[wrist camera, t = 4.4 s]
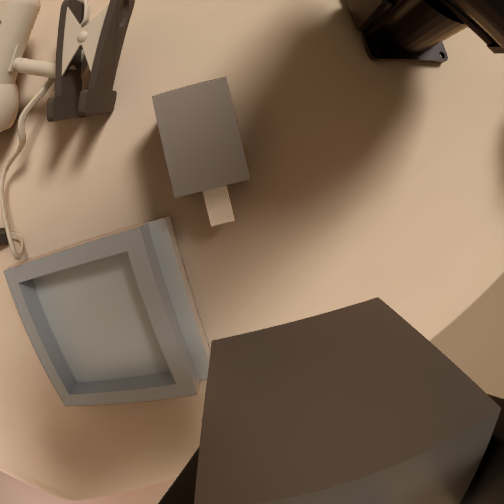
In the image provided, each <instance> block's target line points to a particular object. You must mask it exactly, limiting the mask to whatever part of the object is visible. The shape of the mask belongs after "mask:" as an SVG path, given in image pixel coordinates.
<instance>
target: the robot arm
mask: <svg viewBox="0 0 504 504" xmlns="http://www.w3.org/2000/svg"><path fill="white" fill-rule="evenodd" d="M345 1H346V4H347V6H348V8H349V11H350V13H351V16H352V18H353V21H354V23H355V26H356V28H357V30H358V31H359V32H360V34H361V36H362V39H363V42H364V44H365V47H366V50H367V53H368V55H369V57H370V58H371V59H372V60H374V61H419V62H438V63H442V62H445V61H447V59H448V57H447V53H446V51H445V48H444V45H443V43H442V41H443V40H445V39H447V38H449V37H450V36H452V35H454V34H456V33H458V32H459V31H461V30H463V29H465V28H467V27H469V28H470V29H471V30H472V31H474V32H475V33H476V34H477V35H478V36H479V37H480V38H481V39H482V40H483V41H484V42H485V43H486V44H487V47H488V48H489V49H490V50H491V51H492V52H493V53H504V0H345ZM374 51H376V52H377V53H378V56H377V55H376V54H375V53H374ZM440 55H441V56H442V57H441V56H440ZM487 395H488V396H489V397H490V398H491V399H492V400H494V401H495V402H496V403H497V404H498V405H499V406H500V407H501V411H500V414H499V416H498V419H497V422H496V425H495V428H494V430H493V433H492V436H491V438H490V441H489V443H488V446H487V448H486V451H485V453H484V455H483V458H482V460H481V462H480V464H479V466H478V469H477V471H476V473H475V475H474V477H473V479H472V481H471V483H470V485H469V487H468V489H467V491H466V493H465V495H464V496H463V498H462V500H461V502H460V504H504V399H502V398H499V397H495V396H492V395H489V394H487ZM199 447H200V446H199ZM198 457H199V448H198V449H197V451H196V452H195V453H194V455H193V456H192V458H191V459H190V461H189V462H188V463H187V465H186V466H185V468H184V469H183V470H182V472H181V473H180V475H179V476H178V477H177V479H176V480H175V482H174V483H173V484H172V486H171V487H170V488H169V490H168V491H167V492H166V494H165V495H164V496H163V498H162V499H161V500H160V502H159V503H158V504H194V499H195V488H196V478H197V467H198Z"/></svg>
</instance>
